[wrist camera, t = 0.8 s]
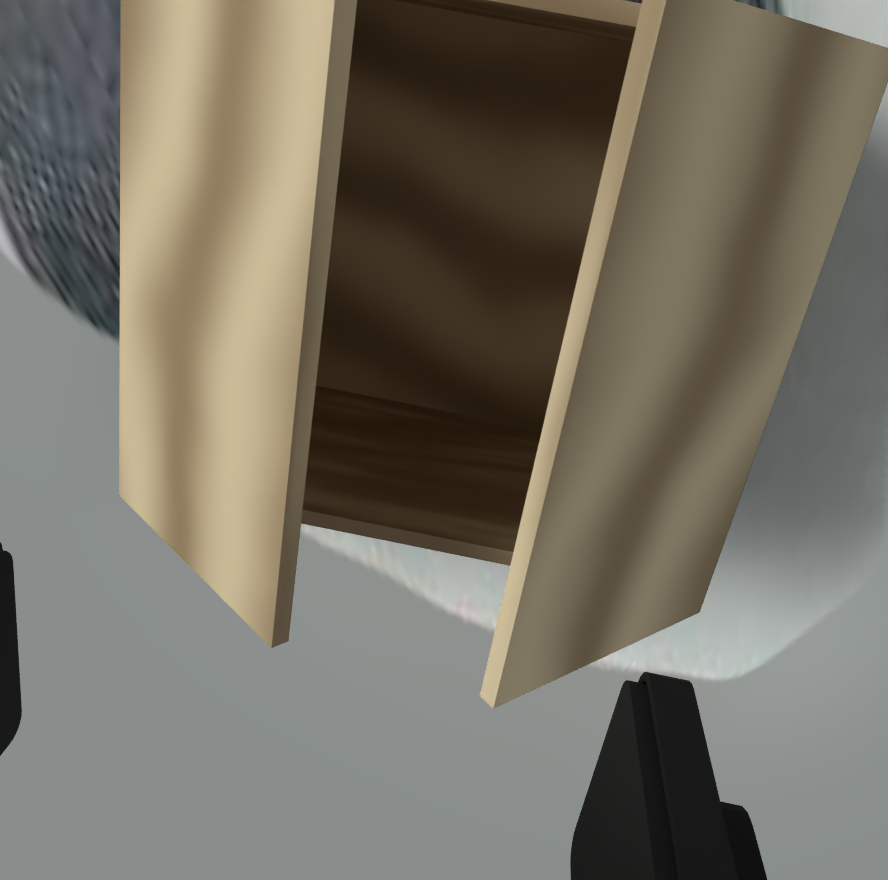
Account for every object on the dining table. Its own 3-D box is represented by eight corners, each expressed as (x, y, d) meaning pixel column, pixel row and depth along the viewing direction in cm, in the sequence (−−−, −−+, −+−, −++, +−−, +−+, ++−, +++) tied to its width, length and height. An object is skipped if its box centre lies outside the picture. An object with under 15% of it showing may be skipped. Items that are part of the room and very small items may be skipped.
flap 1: (364, -67, 18) (341, -75, 17) (288, 640, 26) (271, 647, 25) (141, -82, 24) (121, -88, 24) (134, 491, 32) (119, 495, 32)
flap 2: (480, 695, 25) (493, 708, 24) (647, -21, 17) (670, -19, 17) (686, 603, 31) (699, 612, 31) (877, 49, 23) (898, 51, 23)
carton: (275, -37, 36) (145, -85, 24) (767, 51, 35) (875, 45, 24) (246, 380, 44) (138, 492, 32) (647, 458, 43) (683, 602, 32)
